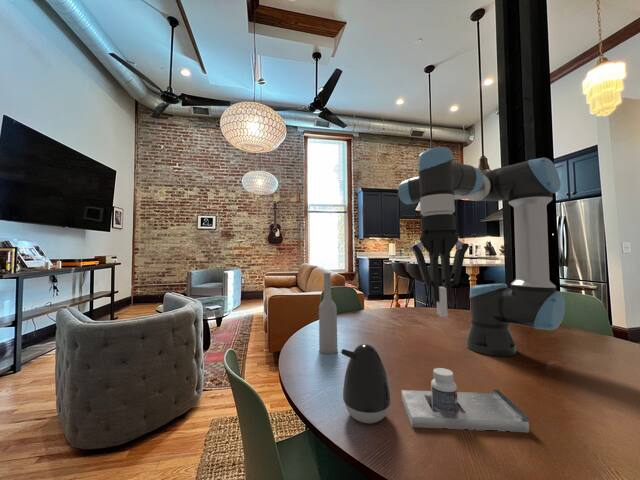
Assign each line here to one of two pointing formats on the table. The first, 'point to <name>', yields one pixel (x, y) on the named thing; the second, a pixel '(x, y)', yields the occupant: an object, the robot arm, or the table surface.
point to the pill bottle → (444, 391)
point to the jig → (466, 412)
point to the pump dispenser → (366, 385)
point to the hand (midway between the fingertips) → (442, 315)
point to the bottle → (327, 320)
